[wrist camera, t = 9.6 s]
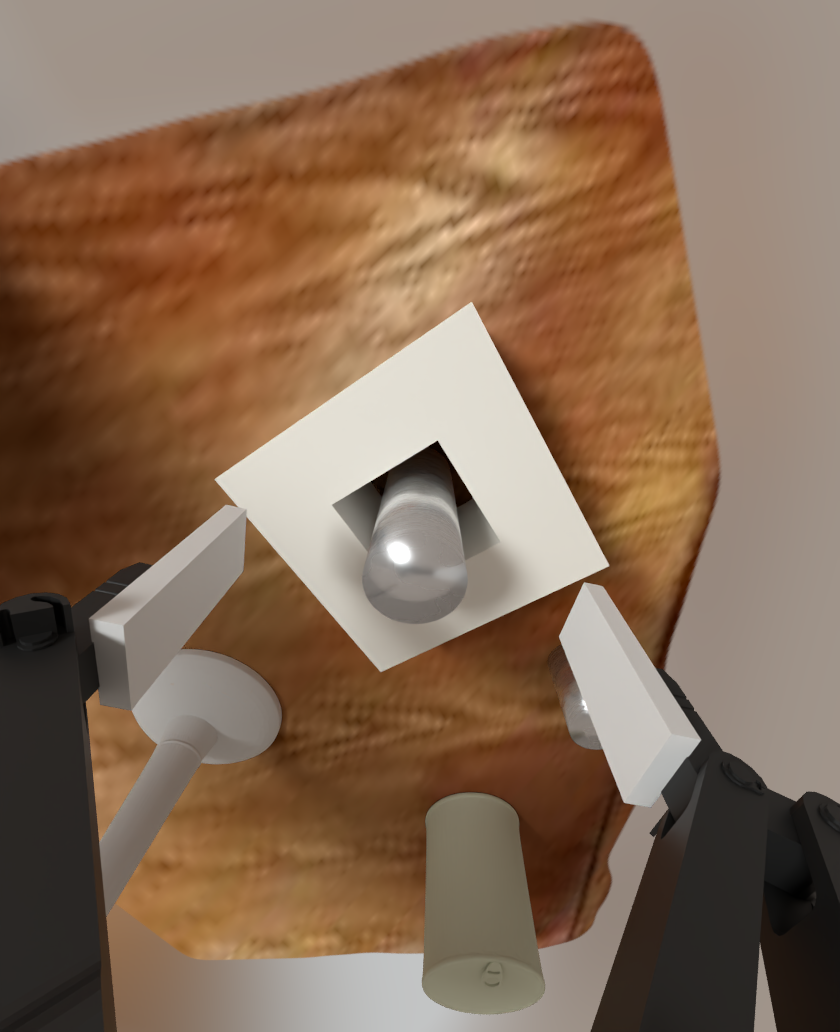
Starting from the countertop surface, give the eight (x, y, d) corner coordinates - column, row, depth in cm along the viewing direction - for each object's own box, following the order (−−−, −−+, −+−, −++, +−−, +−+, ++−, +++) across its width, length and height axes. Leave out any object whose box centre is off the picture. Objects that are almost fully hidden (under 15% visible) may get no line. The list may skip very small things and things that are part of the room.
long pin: (376, 467, 26) (340, 567, 16) (429, 434, 26) (432, 515, 15) (410, 515, 28) (400, 638, 17) (462, 486, 27) (486, 596, 16)
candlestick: (188, 622, 32) (-1159, 2205, 5) (312, 712, 36) (-89, 1932, 9) (106, 700, 36) (-904, 1829, 9) (225, 774, 40) (-241, 1748, 13)
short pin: (538, 654, 32) (559, 720, 27) (587, 633, 31) (618, 697, 26) (560, 687, 34) (584, 756, 28) (608, 668, 33) (642, 736, 27)
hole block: (268, 442, 26) (214, 479, 20) (462, 309, 23) (471, 301, 16) (392, 600, 31) (380, 672, 24) (569, 510, 27) (609, 565, 21)
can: (529, 798, 40) (563, 978, 29) (506, 853, 43) (529, 1030, 32) (433, 785, 39) (431, 961, 28) (419, 842, 43) (412, 1016, 32)
